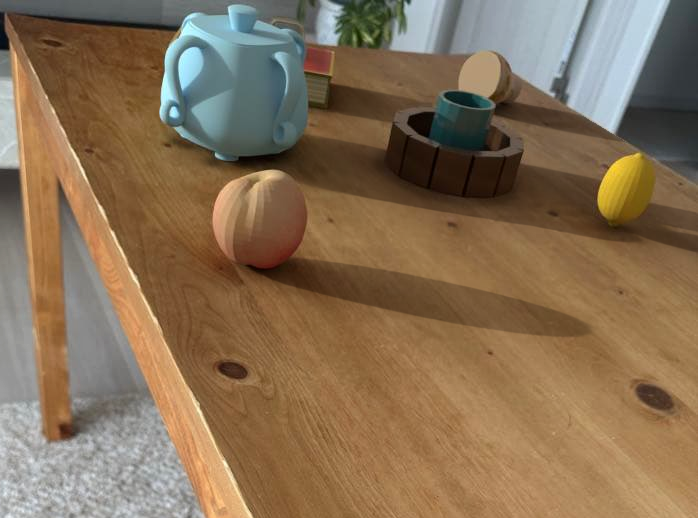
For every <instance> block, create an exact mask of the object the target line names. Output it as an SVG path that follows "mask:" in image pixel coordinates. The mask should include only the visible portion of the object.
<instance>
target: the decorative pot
mask: <svg viewBox="0 0 698 518" xmlns="http://www.w3.org/2000/svg"><path fill="white" fill-rule="evenodd" d="M227 11H228V14H214V15H213V14H212V15H209V14H207V13H204V12H193V13H190V14H189V15H187V16H186V17H185V18H184V20H183V21H182V24H181V25H182V29H181V35H180V37H179V38H178V39H176V40H175V41H174V42H172V44H171V45H170V46H169V48H168V47H167V49H168V50H167V49H166V52H165V57H164V73H163V78H162V84H161V89H160V103H161V104H160V107H159V118H160V119H161V121H162V123H163V124H164V125H165V126H168V127H171V128H173V129H174V130H175V131H176V132H177V133H178V134H179V135H180V136H181V138H183V139H186V140H188V141H189V142H192V143H194V144H196V145H198V146H201V147H203V148H205V149H208V150H211V151H214V156H215V158H217V159H218V160H221V161H226V162H235V161H238V160H239V157H254V156H262V155H263V156H264V155H270V154H272V155H274V154H280V153H282V152H284V151H286V150H289V149H291V148H293V147H294V146H295V145H296V144H297V142H298V141H299V139H300V138H301V137H302V135H303V134H304V133H305V132H306V130H307V126H308V118H309V105H308V93H307V85H306V80H305V75H304V71H303V65H304V62H305V57H306V47H307V45H306V40H305V39H304V38H303V36H302V35H301V34H300V33H299V32H297V31H296V30H293V29H291V28H282V29H280V28H278V27H276V26H274V25H272V24H269V23H267V22H264V21H261V20H258V19H259V15H260V10H258V9H257V8H255V7H253V6H249V5H244V4H231V5H229V6H228V7H227Z"/></svg>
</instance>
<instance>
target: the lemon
mask: <svg viewBox="0 0 698 518" xmlns="http://www.w3.org/2000/svg"><path fill="white" fill-rule="evenodd" d="M655 185H656V171H655V168H654V166H653V164H652V163H651V161H650V160H649V159H647V157H646V156H645V154H644V153H642V152H637V153H635V154H630V155H626V156H623V157H621V158H620V159H618V160H616V161H615V162H613V164H612V165H610V167H609V169H607V171H606V173H605V175H604V177H603V178H602V181H601V183H600V186H599V189H598V193H597V206H598V210H599V212H600V214H601V215H602V216H603V218H605V219H606V221H607V223H608V226H610V227H616V226H618V225H620V224H625V223H629V222H632V221H633V220H635V219H637V218H638V217H639V216H641V214H643V212H644V211H645V210H646V208H647V207H648V205H649V203H650V201H651V199H652V197H653V194H654V191H655Z"/></svg>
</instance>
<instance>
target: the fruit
mask: <svg viewBox="0 0 698 518" xmlns="http://www.w3.org/2000/svg"><path fill="white" fill-rule="evenodd" d="M308 218H309V217H308V208H307V201H306V198H305V194H304V193H303V190H302V188H301V187H300V185H299V184H298V182H297V181H296V180H294V179H293V177H291V176H290V175H289V174H288V173H287V172H284V171H281V170H279V169H266V170H265V169H264V170H260V171H257V172H251V173H249V174H247V175H244V176H241V177H238V178H236V179H232V180H231V181H229V182H228V183H227V184H226V185H225V186H224V187H223V188H222V189H221V190H220V192H219V193H218V196H217V197H216V200H215V203H214V206H213V212H212V229H213V233H214V236H215V239H216V242H217V244H218V246H219V247H220V249H221V251H222V252H223V254H224V255H225V256H226V257H227V258H228V259H229V260H230V261H231V262H233V263H234V264H236V265H238V266H239V265H240V266H252V267H254V268H257V269H263V270H264V269H272V268H275V267H277V266H279V265H281V264H284V262H285V261H287V260H289V259H290V258H291V257H292V256H293V255H294V253H296V251H297V250H298V248H299V247H300V245H301V243H302V241H303V239H304V235H305V232H306V228H307V225H308Z"/></svg>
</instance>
